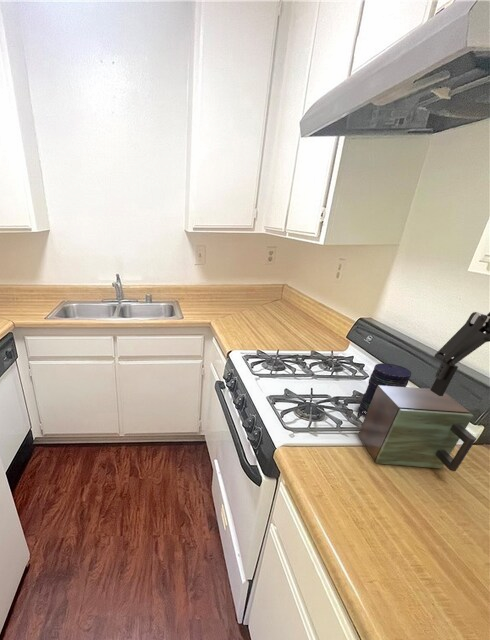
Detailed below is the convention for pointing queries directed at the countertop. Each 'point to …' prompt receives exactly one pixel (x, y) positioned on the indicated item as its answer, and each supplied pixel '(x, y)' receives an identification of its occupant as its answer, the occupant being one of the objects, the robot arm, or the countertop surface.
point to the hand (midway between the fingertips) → (466, 393)
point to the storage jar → (383, 381)
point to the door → (426, 439)
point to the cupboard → (388, 406)
